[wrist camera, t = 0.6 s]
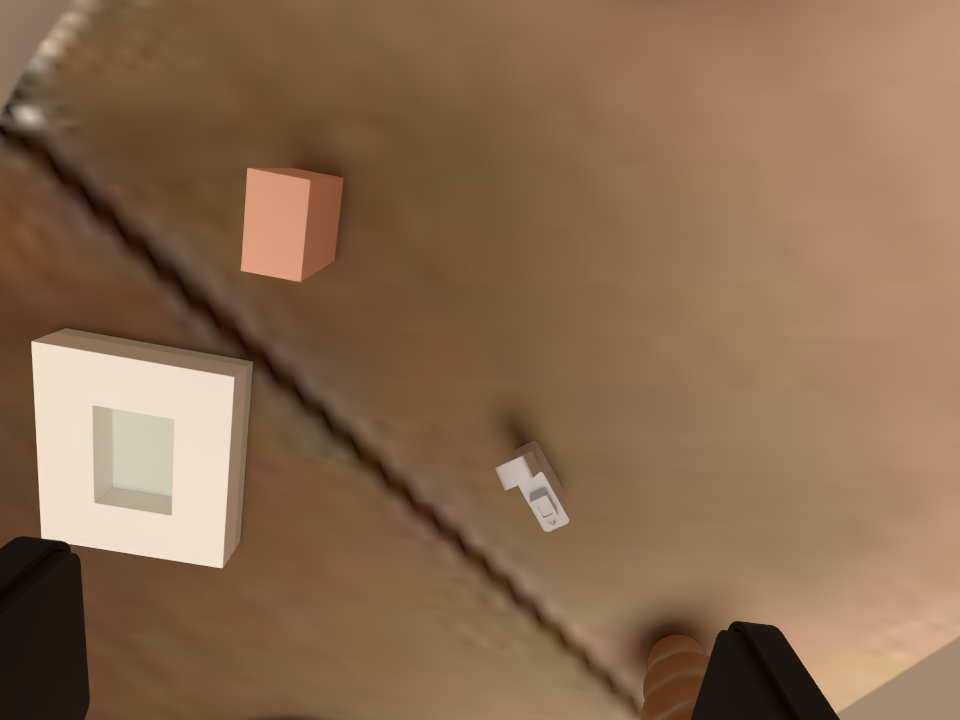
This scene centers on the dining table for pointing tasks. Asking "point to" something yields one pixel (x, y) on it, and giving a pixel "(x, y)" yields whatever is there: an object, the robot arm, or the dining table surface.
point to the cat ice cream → (673, 678)
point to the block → (290, 222)
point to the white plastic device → (536, 485)
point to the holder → (140, 446)
